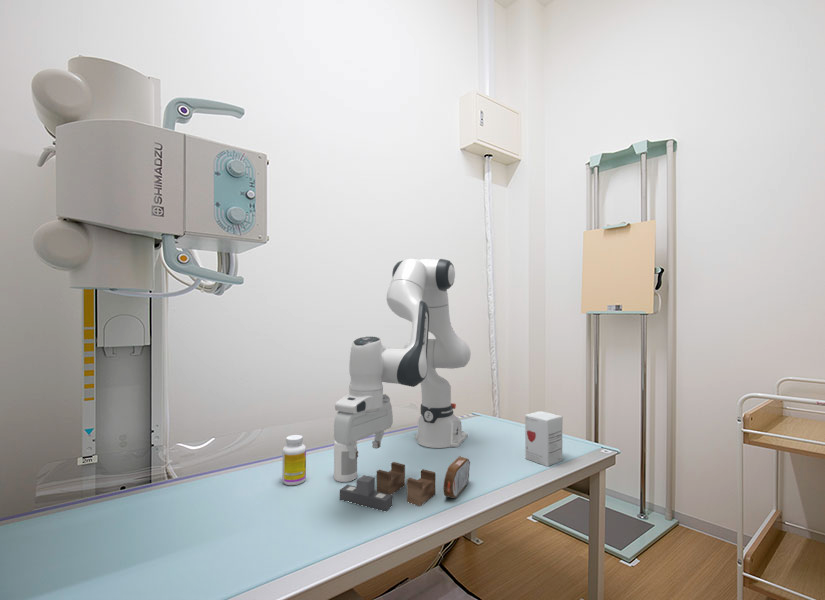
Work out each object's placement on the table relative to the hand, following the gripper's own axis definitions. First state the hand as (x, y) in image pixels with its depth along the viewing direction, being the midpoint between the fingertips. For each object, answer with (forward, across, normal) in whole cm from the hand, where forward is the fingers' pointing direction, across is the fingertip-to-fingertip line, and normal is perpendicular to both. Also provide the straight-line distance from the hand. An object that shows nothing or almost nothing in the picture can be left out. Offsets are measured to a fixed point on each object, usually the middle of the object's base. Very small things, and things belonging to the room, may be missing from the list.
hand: (365, 452), depth 107 cm
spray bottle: (+13, -10, -15) cm, 22 cm away
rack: (+13, -10, +6) cm, 18 cm away
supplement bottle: (+13, 0, -26) cm, 29 cm away
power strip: (+13, 0, 0) cm, 13 cm away
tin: (+13, -20, +17) cm, 29 cm away
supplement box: (+13, -56, +31) cm, 66 cm away
